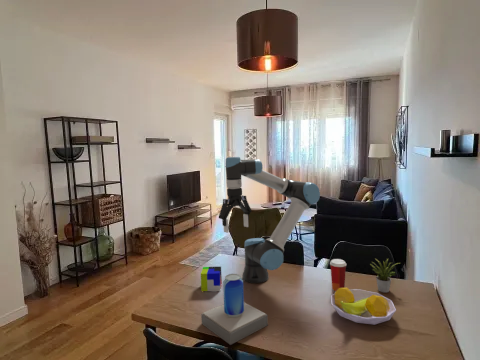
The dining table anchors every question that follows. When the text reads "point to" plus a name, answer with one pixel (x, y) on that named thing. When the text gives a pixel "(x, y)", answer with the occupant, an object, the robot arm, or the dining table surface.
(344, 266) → the coffee cup
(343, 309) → the fruit bowl
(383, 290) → the house plant
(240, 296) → the beer can
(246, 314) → the plinth
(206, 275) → the puzzle toy
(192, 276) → the dining table surface
